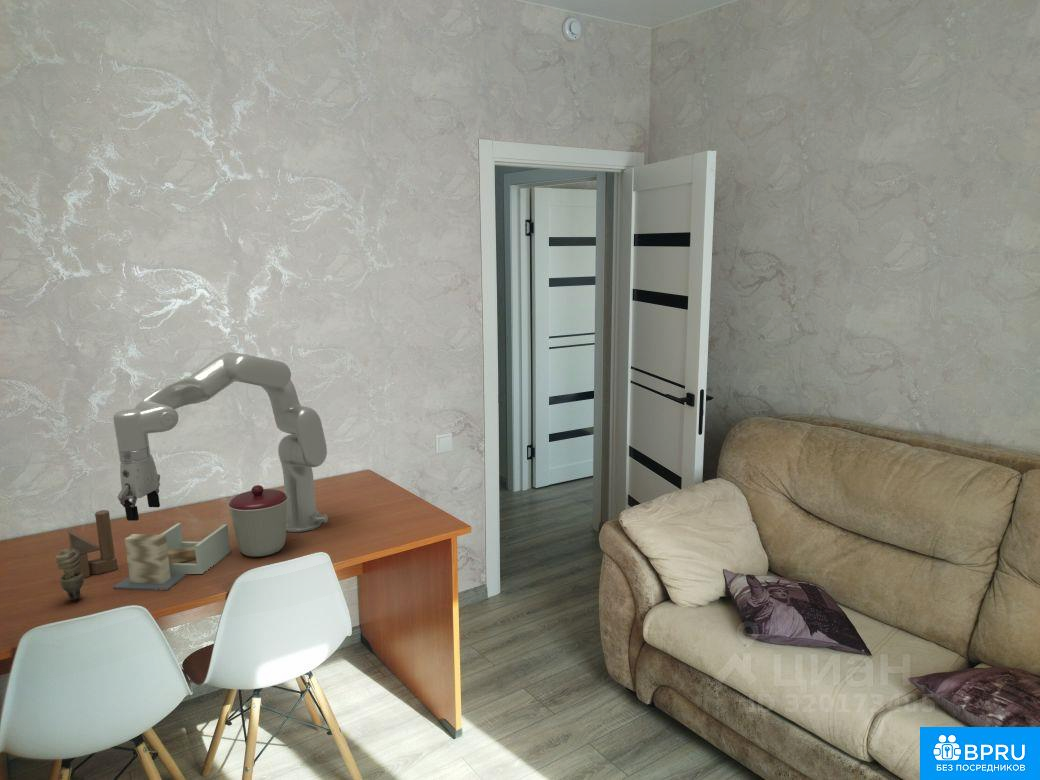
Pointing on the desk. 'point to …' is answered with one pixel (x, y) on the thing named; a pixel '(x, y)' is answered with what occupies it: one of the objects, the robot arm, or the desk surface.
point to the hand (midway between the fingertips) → (143, 513)
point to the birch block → (147, 558)
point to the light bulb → (70, 572)
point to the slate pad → (149, 584)
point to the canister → (259, 520)
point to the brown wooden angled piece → (96, 547)
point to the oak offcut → (181, 555)
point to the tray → (198, 549)
